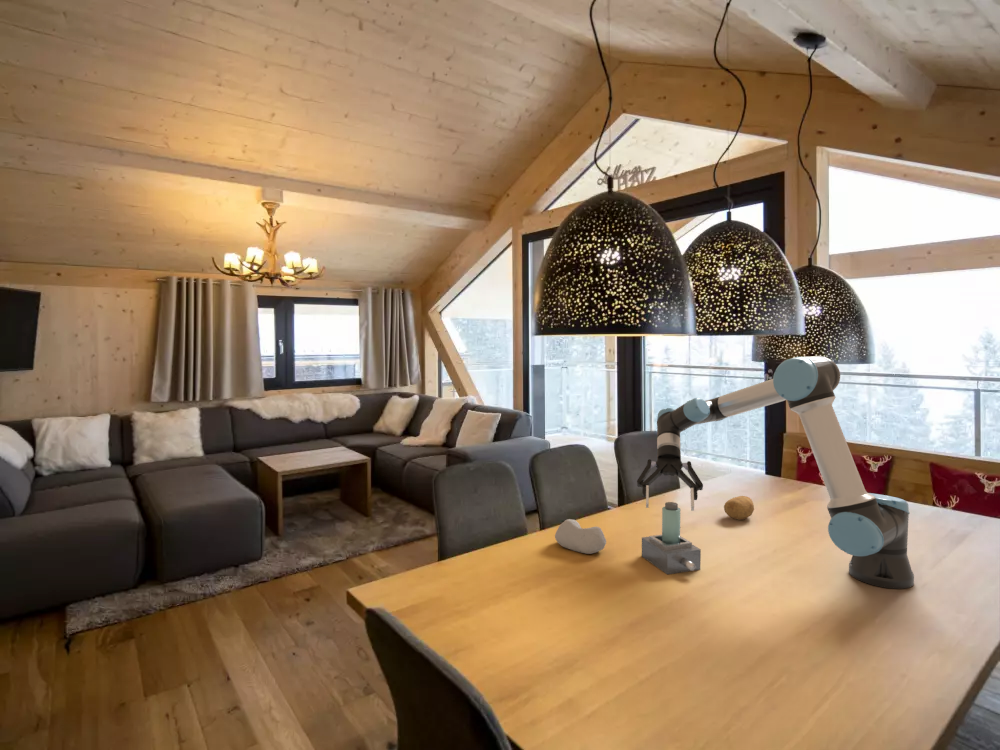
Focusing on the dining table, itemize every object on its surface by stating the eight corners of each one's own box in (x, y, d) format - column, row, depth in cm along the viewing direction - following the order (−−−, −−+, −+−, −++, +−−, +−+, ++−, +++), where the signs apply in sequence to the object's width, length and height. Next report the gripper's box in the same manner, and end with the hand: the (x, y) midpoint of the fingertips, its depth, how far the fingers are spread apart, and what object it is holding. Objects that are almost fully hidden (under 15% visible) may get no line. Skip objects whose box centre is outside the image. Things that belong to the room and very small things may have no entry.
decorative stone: (546, 538, 185) (559, 510, 188) (561, 548, 192) (573, 521, 194) (589, 557, 173) (602, 526, 176) (604, 567, 179) (616, 537, 182)
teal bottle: (683, 545, 169) (684, 505, 168) (668, 547, 168) (668, 507, 167) (673, 539, 174) (674, 500, 173) (658, 541, 172) (658, 502, 172)
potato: (760, 516, 213) (760, 495, 212) (745, 526, 203) (745, 503, 202) (733, 511, 220) (734, 490, 219) (718, 520, 210) (718, 498, 209)
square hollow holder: (709, 575, 162) (709, 550, 162) (675, 580, 159) (675, 554, 159) (669, 549, 181) (669, 527, 181) (638, 554, 178) (638, 531, 178)
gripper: (707, 457, 191) (711, 515, 178) (630, 454, 197) (629, 510, 184) (709, 445, 185) (713, 503, 172) (630, 442, 192) (628, 498, 178)
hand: (669, 507), depth 178 cm, fingers open, 13 cm apart
